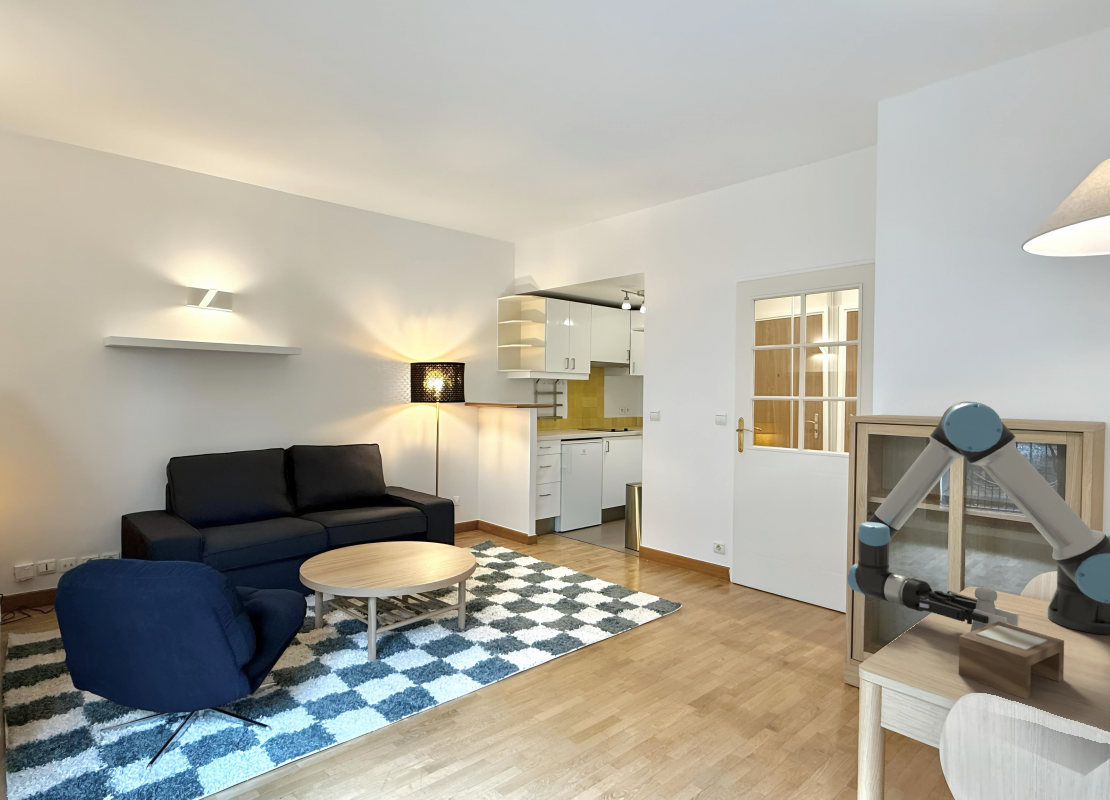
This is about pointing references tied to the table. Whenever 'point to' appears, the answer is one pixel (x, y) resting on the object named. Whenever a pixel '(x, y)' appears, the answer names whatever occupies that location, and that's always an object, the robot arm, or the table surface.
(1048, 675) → the walnut shelf
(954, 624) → the table surface
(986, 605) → the salt shaker
